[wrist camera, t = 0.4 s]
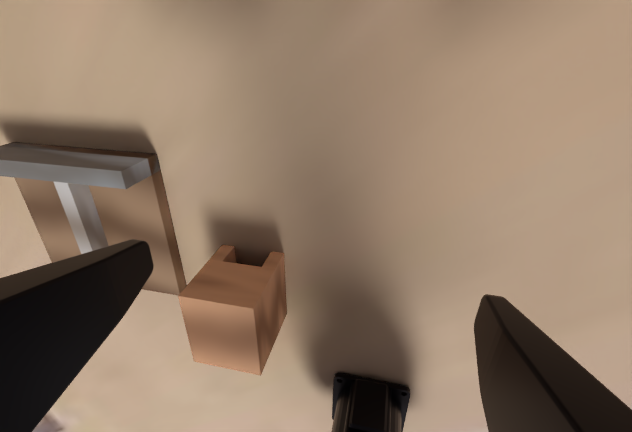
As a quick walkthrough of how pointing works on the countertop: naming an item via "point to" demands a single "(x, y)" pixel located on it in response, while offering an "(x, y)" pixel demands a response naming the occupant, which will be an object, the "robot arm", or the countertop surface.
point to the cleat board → (97, 203)
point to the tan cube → (235, 311)
